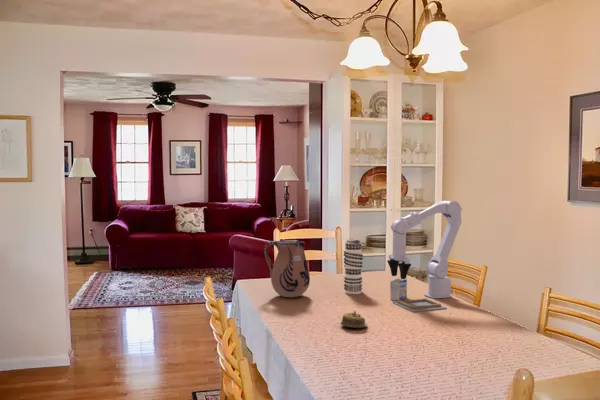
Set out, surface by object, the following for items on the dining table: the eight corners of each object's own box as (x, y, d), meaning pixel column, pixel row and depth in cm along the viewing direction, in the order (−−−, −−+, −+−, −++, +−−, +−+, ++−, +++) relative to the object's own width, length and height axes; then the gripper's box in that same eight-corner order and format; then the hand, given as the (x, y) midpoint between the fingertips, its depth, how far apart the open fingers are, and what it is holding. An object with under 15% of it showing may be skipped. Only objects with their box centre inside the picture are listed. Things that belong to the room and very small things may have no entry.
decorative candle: (339, 290, 248) (340, 238, 247) (356, 289, 252) (356, 237, 250) (349, 294, 239) (349, 240, 238) (366, 293, 243) (366, 240, 242)
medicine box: (399, 301, 227) (399, 281, 227) (389, 300, 230) (390, 280, 229) (407, 298, 233) (407, 279, 233) (398, 296, 236) (398, 277, 236)
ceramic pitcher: (309, 300, 228) (309, 243, 227) (261, 299, 229) (261, 243, 228) (309, 291, 246) (310, 239, 245) (265, 291, 246) (265, 238, 245)
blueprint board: (424, 300, 229) (424, 296, 229) (446, 308, 214) (446, 305, 214) (392, 303, 224) (392, 299, 224) (413, 312, 209) (413, 308, 209)
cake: (346, 330, 185) (346, 315, 184) (336, 322, 194) (336, 308, 194) (371, 328, 187) (372, 313, 187) (361, 320, 197) (361, 306, 197)
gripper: (383, 245, 236) (382, 275, 237) (400, 249, 222) (399, 281, 223) (396, 244, 238) (396, 274, 239) (414, 249, 225) (413, 280, 226)
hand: (398, 277), depth 231 cm, fingers open, 7 cm apart
